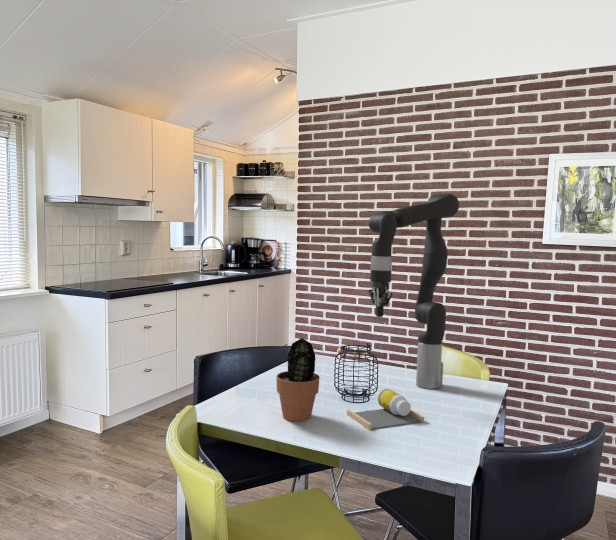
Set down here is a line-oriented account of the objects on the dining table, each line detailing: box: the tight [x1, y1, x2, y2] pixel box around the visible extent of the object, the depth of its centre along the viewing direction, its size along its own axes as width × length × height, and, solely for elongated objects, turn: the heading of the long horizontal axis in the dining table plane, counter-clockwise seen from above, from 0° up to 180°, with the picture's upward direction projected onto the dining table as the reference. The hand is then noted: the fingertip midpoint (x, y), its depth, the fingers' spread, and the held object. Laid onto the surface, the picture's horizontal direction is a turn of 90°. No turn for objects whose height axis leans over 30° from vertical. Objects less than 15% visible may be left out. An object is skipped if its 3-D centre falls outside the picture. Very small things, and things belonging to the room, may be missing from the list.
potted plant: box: [275, 337, 320, 423], centre depth 161 cm, size 14×14×25 cm
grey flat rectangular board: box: [346, 408, 425, 431], centre depth 163 cm, size 20×14×2 cm
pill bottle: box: [377, 388, 412, 416], centre depth 167 cm, size 6×6×12 cm
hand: (379, 316), depth 185 cm, fingers closed
